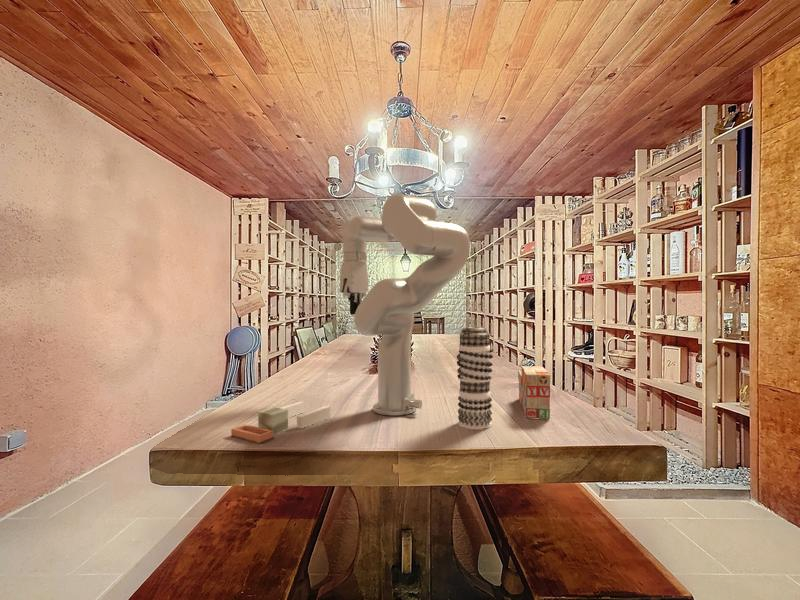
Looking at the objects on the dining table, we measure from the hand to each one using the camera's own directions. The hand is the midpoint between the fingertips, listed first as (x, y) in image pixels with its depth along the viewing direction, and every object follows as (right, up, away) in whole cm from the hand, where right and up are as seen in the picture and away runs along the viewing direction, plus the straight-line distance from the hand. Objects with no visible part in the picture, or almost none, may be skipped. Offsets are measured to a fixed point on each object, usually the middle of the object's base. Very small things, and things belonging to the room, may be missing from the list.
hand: (355, 314), depth 139 cm
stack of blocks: (+54, -27, -16) cm, 62 cm away
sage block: (-17, -28, -34) cm, 47 cm away
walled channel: (-12, -28, -26) cm, 39 cm away
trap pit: (-20, -28, -39) cm, 52 cm away
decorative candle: (+34, -28, -31) cm, 53 cm away
